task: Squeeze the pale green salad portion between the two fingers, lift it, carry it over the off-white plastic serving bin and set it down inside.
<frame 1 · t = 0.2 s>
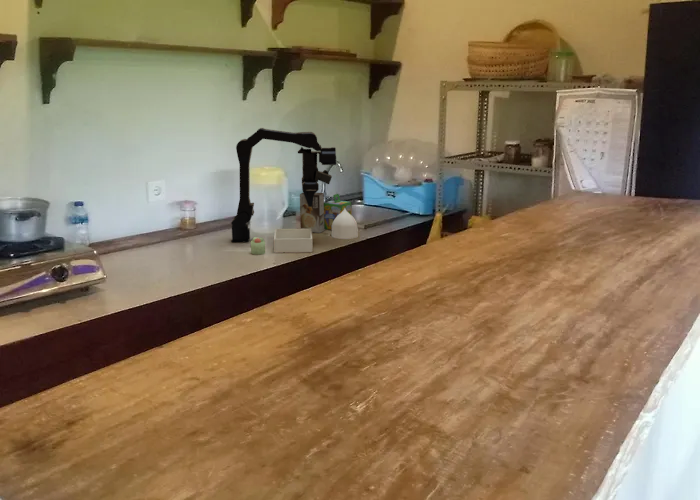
hand: (309, 204, 268), 14 cm above the worktop, fingers open, 9 cm apart
serving bin: (293, 246, 261), on the worktop
teardrop: (344, 236, 279), on the worktop
salad portion: (258, 252, 252), on the worktop
chalk box: (337, 228, 293), on the worktop
coffee box: (312, 231, 288), on the worktop
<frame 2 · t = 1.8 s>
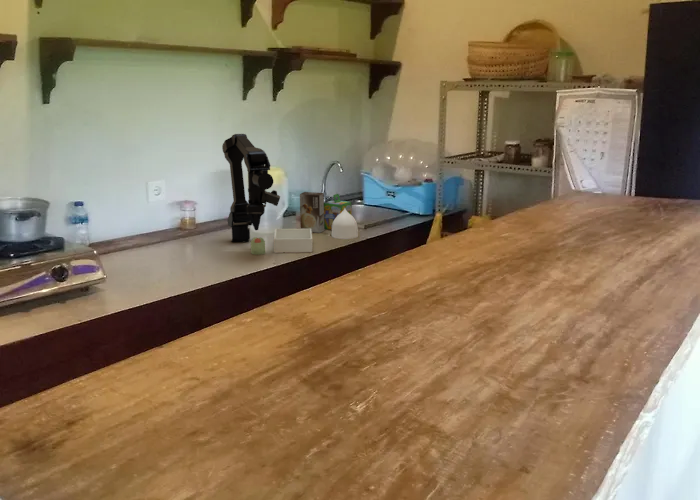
hand: (257, 227, 250), 10 cm above the worktop, fingers open, 9 cm apart
nothing on the worktop moved.
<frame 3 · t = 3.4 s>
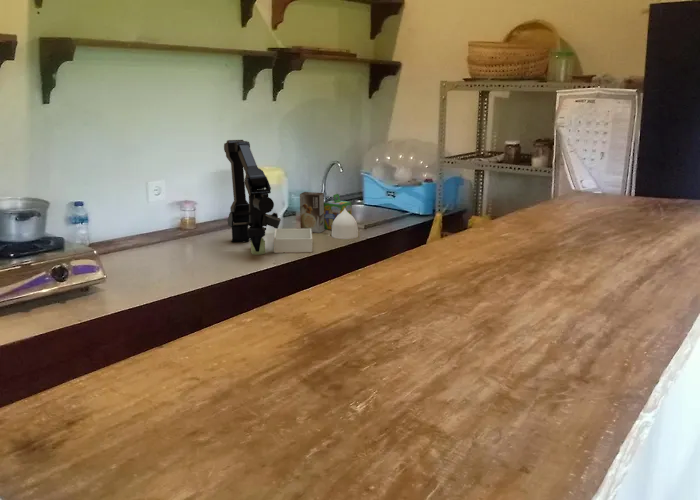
hand: (258, 249, 252), 1 cm above the worktop, fingers closed on salad portion, 5 cm apart
salad portion: (258, 252, 252), on the worktop, touching gripper
everything else where it was.
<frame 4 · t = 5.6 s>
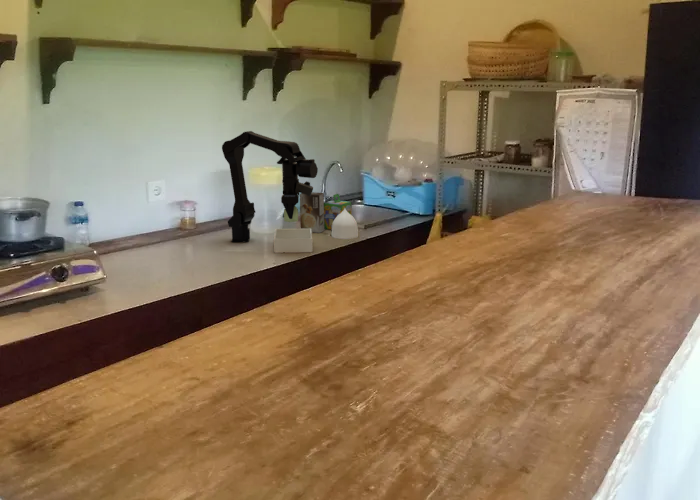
hand: (291, 217, 258), 12 cm above the worktop, fingers closed on salad portion, 5 cm apart
salad portion: (291, 220, 258), point 10 cm above the worktop, touching gripper
everything else where it was.
when the fingers open (4 cm above the worktop, at t = 7.8 s): salad portion drops 3 cm, resting on serving bin.
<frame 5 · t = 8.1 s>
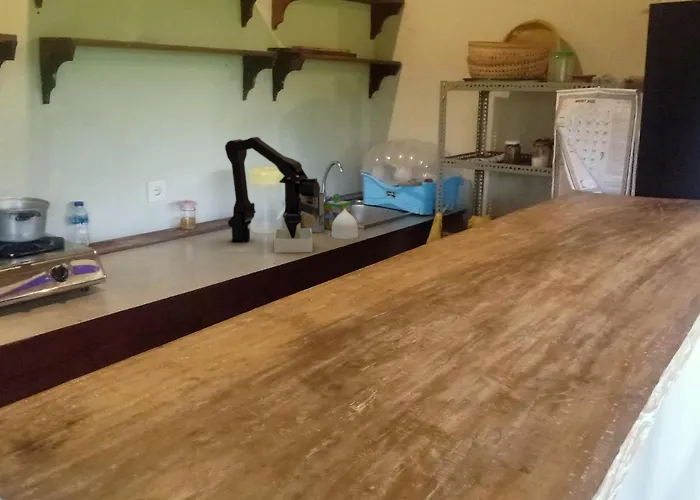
hand: (293, 235, 260), 4 cm above the worktop, fingers open, 9 cm apart
salad portion: (293, 245, 261), point 1 cm above the worktop, touching serving bin
everything else where it was.
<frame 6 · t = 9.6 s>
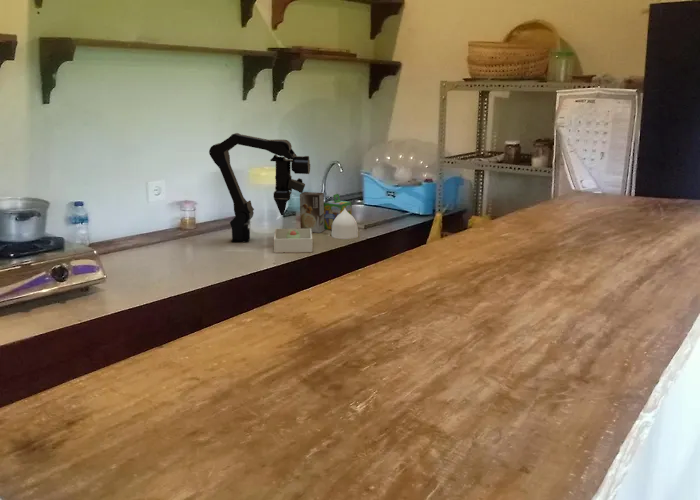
hand: (283, 212, 266), 12 cm above the worktop, fingers open, 9 cm apart
nothing on the worktop moved.
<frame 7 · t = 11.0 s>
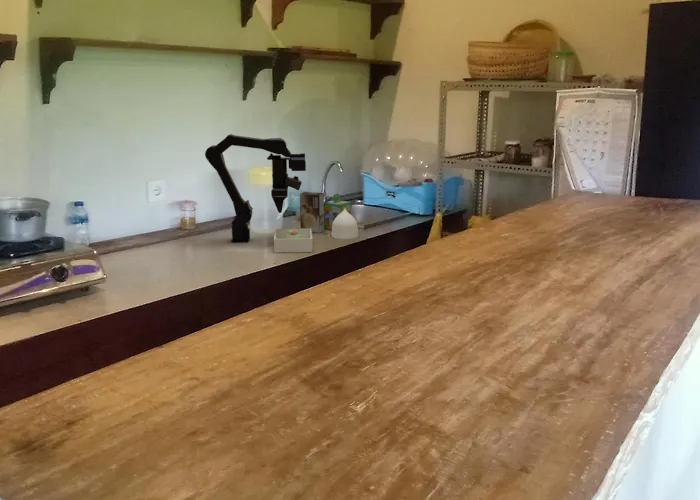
hand: (280, 210, 268), 12 cm above the worktop, fingers open, 9 cm apart
nothing on the worktop moved.
at the end: salad portion inside the target area on the serving bin (0.0 cm from its centre), point 0.6 cm above the serving bin's base; salad portion point 0.6 cm above the worktop; the gripper is holding nothing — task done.
